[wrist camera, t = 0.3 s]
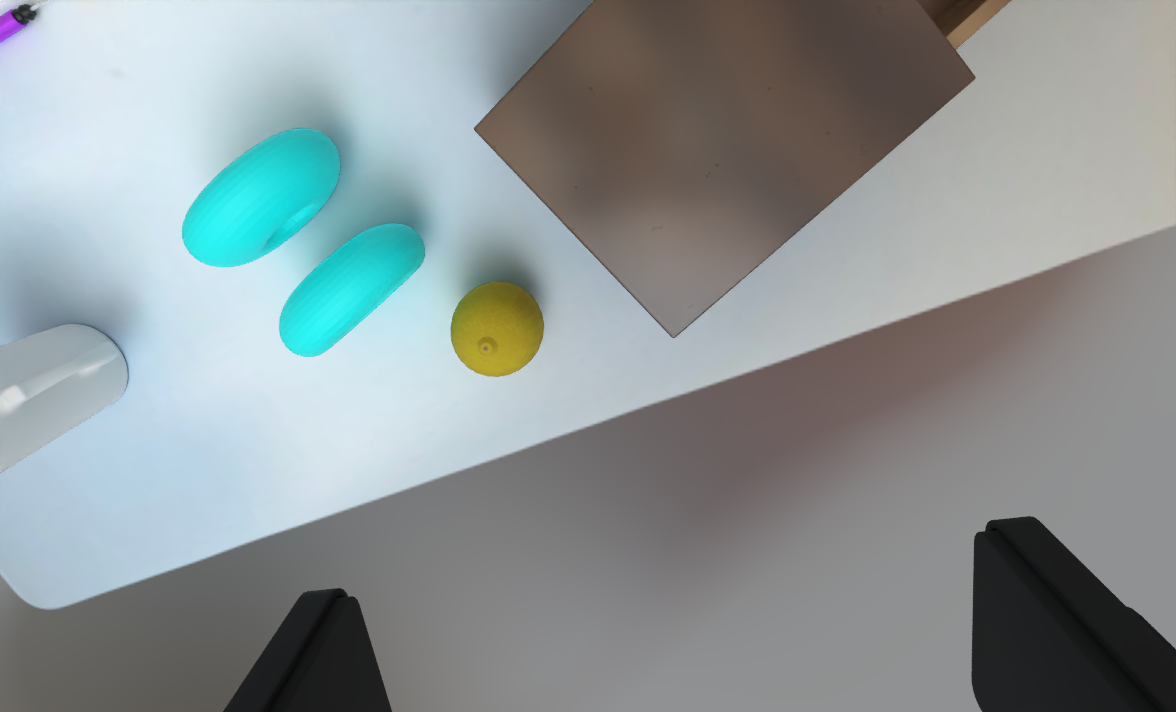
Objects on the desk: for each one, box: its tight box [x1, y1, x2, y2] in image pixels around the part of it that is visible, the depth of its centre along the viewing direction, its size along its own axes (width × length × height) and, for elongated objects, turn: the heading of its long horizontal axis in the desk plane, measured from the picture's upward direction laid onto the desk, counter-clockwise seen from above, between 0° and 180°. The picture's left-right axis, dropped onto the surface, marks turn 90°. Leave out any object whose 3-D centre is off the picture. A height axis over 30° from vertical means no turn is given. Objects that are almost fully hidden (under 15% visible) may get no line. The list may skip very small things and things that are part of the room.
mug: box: [0, 324, 128, 473], centre depth 44 cm, size 10×7×12 cm, turn 117°
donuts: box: [182, 128, 425, 357], centre depth 41 cm, size 10×10×10 cm
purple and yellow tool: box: [0, 0, 49, 43], centre depth 42 cm, size 3×1×16 cm
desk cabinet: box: [474, 0, 975, 338], centre depth 38 cm, size 19×15×9 cm
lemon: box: [451, 281, 544, 377], centre depth 44 cm, size 6×6×8 cm
